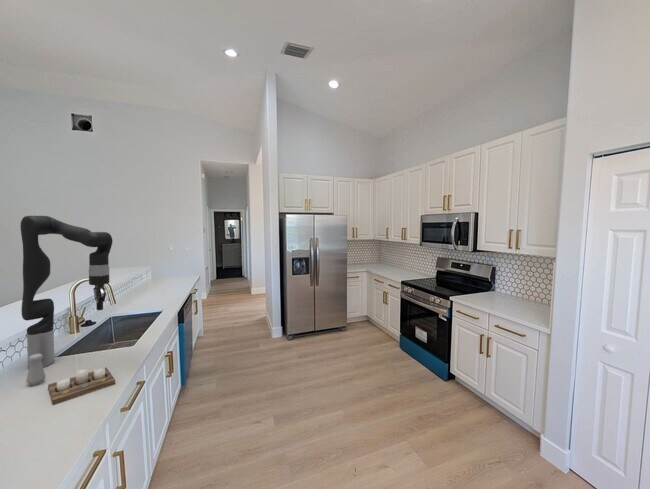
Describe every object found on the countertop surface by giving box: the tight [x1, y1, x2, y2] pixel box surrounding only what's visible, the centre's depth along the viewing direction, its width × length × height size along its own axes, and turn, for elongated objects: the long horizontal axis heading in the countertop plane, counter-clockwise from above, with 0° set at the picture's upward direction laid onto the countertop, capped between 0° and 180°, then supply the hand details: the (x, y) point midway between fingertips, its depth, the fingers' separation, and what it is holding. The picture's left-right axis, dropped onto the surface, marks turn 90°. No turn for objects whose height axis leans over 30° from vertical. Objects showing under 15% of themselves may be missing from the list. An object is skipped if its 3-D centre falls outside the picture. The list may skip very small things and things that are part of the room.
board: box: [47, 367, 116, 406], centre depth 120 cm, size 16×20×2 cm
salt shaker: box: [26, 354, 46, 387], centre depth 121 cm, size 6×6×13 cm
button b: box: [75, 368, 89, 385], centre depth 120 cm, size 4×4×5 cm
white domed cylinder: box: [56, 377, 71, 393], centre depth 115 cm, size 4×4×5 cm
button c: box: [93, 367, 106, 381], centre depth 124 cm, size 4×4×5 cm
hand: (99, 309), depth 130 cm, fingers closed
